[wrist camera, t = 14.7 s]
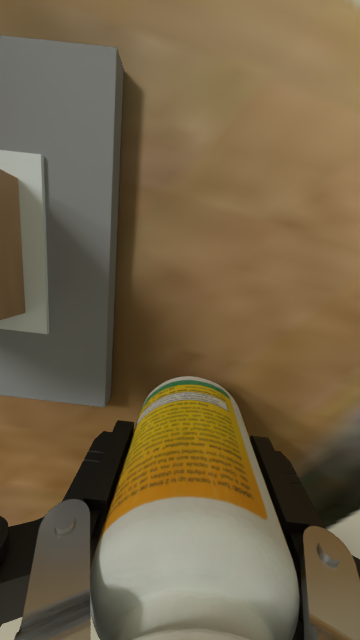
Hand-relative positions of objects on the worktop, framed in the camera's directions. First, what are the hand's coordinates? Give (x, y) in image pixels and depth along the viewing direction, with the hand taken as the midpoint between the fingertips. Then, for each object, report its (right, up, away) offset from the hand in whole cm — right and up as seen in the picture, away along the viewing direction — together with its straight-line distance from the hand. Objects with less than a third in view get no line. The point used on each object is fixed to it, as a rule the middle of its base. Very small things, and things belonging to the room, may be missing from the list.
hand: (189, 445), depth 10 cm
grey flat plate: (-11, +10, +1) cm, 14 cm away
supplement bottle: (0, +1, +2) cm, 2 cm away
